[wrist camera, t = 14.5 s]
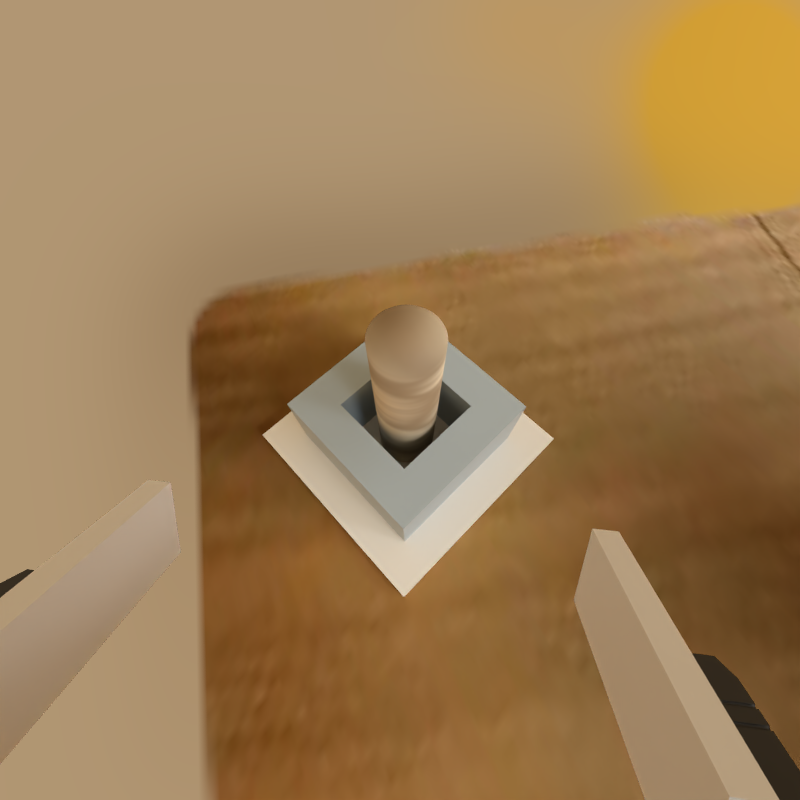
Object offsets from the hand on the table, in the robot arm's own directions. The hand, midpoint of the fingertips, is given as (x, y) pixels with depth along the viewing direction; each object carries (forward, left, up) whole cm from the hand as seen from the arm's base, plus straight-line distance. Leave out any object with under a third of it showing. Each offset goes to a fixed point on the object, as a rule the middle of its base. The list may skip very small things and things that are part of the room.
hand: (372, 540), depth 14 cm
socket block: (-7, -6, -19) cm, 21 cm away
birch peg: (-7, -6, -17) cm, 20 cm away
